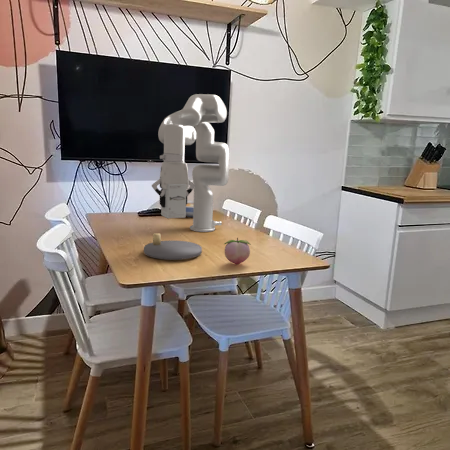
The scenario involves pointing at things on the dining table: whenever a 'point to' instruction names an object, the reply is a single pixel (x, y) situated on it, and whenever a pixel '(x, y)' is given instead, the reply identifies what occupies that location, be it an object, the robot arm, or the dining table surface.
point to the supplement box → (175, 201)
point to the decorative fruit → (237, 251)
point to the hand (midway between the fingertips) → (173, 206)
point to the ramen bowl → (189, 208)
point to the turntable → (171, 249)
